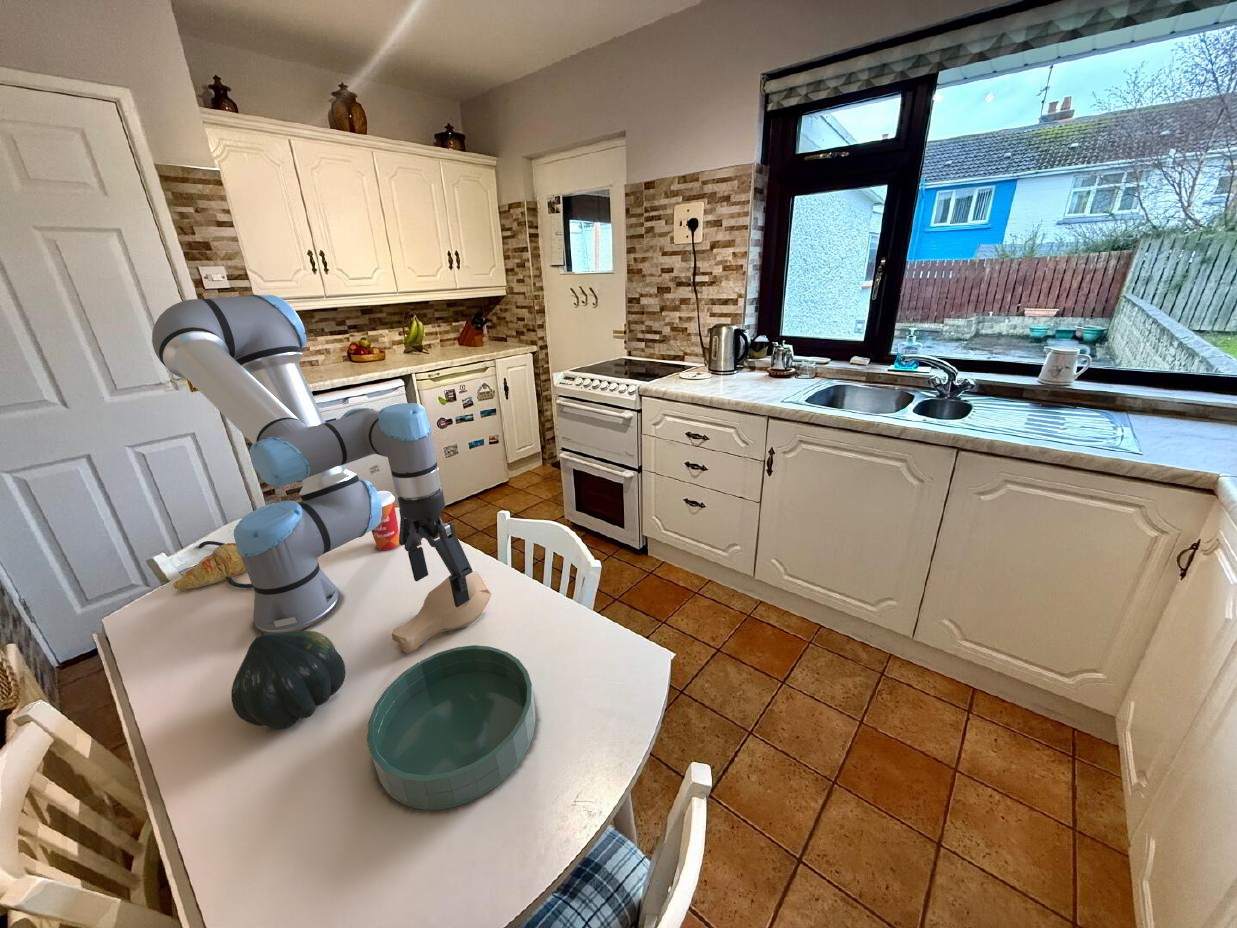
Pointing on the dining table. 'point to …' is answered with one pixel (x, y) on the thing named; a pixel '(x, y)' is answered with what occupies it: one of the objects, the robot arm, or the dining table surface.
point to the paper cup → (387, 523)
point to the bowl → (452, 727)
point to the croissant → (213, 568)
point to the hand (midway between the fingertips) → (441, 589)
